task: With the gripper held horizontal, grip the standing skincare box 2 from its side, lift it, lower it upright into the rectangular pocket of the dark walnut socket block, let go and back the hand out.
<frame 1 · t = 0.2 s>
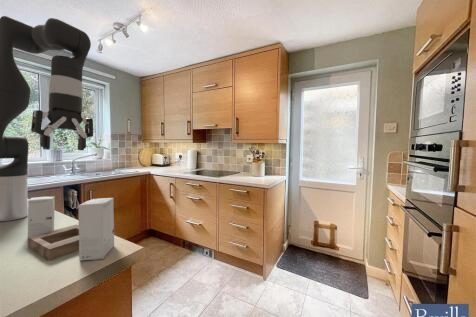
hand: (64, 149, 61), 29 cm above the countertop, tool pointing down, fingers open, 8 cm apart
skincare box: (97, 253, 58), on the countertop
socket block: (64, 244, 62), on the countertop
skincare box 2: (42, 234, 69), on the countertop
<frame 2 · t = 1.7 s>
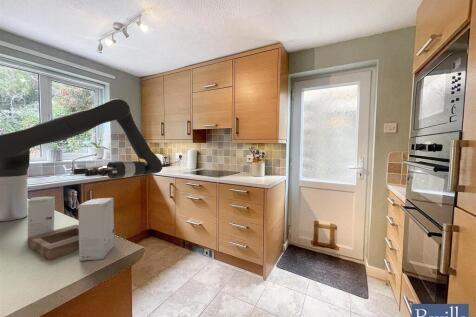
hand: (79, 172, 78), 20 cm above the countertop, tool horizontal, fingers open, 8 cm apart
nothing on the countertop moved.
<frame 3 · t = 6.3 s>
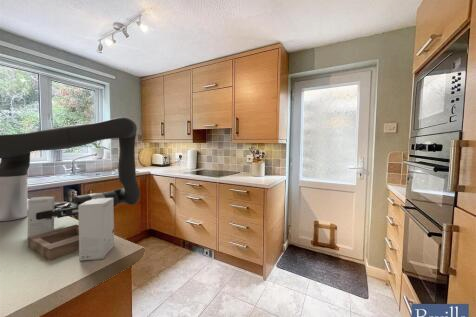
hand: (32, 214, 67), 7 cm above the countertop, tool horizontal, fingers closed on skincare box 2, 6 cm apart
skincare box 2: (41, 234, 69), on the countertop, touching gripper
everything else where it was.
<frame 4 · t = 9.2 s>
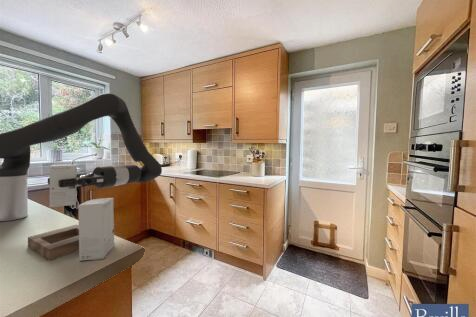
hand: (53, 182, 60), 19 cm above the countertop, tool horizontal, fingers closed on skincare box 2, 6 cm apart
skincare box 2: (64, 205, 63), point 12 cm above the countertop, touching gripper
everything else where it was.
when the fingers open (9 cm above the countertop, at t = 12.3 s): skincare box 2 drops 2 cm, resting in socket block.
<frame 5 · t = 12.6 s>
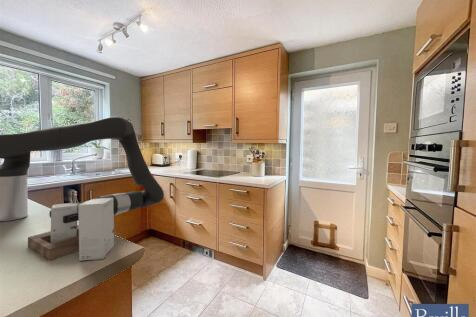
hand: (56, 217, 60), 9 cm above the countertop, tool horizontal, fingers open, 8 cm apart
skincare box 2: (64, 245, 62), resting in socket block
everything else where it was.
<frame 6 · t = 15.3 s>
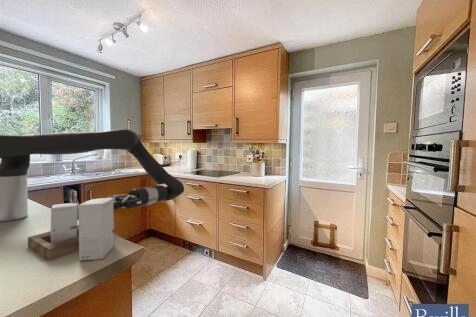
hand: (102, 204, 71), 10 cm above the countertop, tool horizontal, fingers open, 8 cm apart
nothing on the countertop moved.
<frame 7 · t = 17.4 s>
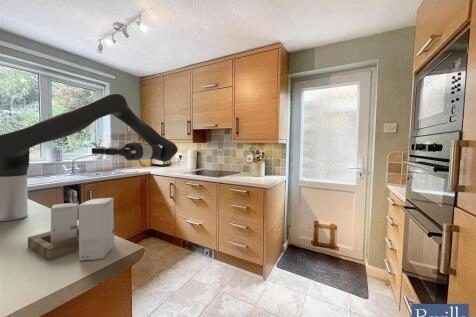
hand: (98, 151, 75), 28 cm above the countertop, tool horizontal, fingers open, 8 cm apart
nothing on the countertop moved.
at the end: skincare box 2 0.4 cm off-centre on the socket block, point 0.0 cm above the socket block's base; skincare box 2 tilted 0°; the gripper is holding nothing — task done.
